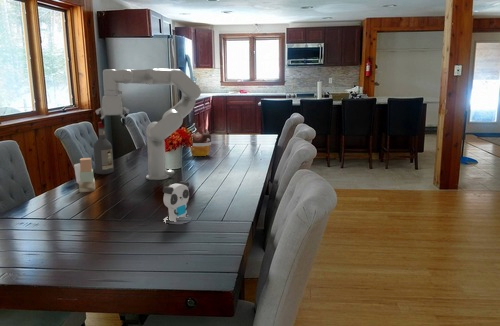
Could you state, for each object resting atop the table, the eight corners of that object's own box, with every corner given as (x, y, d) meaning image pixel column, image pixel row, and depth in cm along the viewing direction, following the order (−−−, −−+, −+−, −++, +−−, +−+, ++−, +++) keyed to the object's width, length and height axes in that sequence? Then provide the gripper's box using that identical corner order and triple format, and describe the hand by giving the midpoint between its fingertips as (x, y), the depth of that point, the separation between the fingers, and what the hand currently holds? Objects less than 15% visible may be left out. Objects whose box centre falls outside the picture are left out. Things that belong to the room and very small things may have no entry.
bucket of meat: (210, 158, 296) (210, 130, 292) (187, 158, 296) (186, 129, 292) (212, 153, 316) (212, 126, 312) (190, 152, 315) (189, 126, 311)
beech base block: (95, 187, 217) (94, 178, 216) (94, 191, 210) (93, 181, 209) (80, 188, 215) (80, 179, 214) (79, 192, 208) (78, 182, 207)
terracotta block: (91, 169, 214) (91, 157, 212) (91, 171, 209) (90, 159, 208) (81, 169, 212) (80, 158, 211) (80, 172, 207) (79, 160, 206)
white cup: (85, 184, 222) (84, 166, 220) (72, 183, 224) (71, 165, 222) (94, 181, 230) (92, 163, 228) (81, 180, 231) (79, 162, 229)
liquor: (92, 173, 248) (89, 122, 242) (103, 170, 256) (100, 121, 250) (105, 174, 244) (101, 123, 238) (115, 171, 253) (112, 121, 247)
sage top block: (93, 178, 215) (92, 169, 214) (93, 181, 210) (92, 171, 209) (81, 179, 213) (80, 169, 212) (80, 182, 208) (79, 172, 207)
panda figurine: (177, 227, 160) (176, 189, 157) (156, 222, 166) (154, 185, 163) (197, 218, 170) (197, 182, 167) (176, 213, 176) (175, 179, 173)
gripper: (128, 93, 226) (130, 124, 230) (94, 93, 221) (96, 125, 225) (128, 93, 219) (130, 126, 223) (93, 93, 214) (96, 127, 218)
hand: (113, 126), depth 224 cm, fingers open, 9 cm apart
